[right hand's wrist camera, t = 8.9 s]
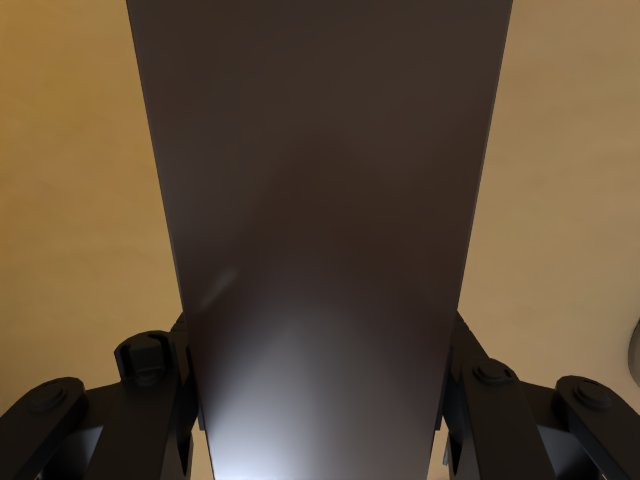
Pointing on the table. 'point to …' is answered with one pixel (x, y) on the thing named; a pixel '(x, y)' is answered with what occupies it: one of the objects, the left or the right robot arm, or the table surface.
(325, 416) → the plank
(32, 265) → the table surface
